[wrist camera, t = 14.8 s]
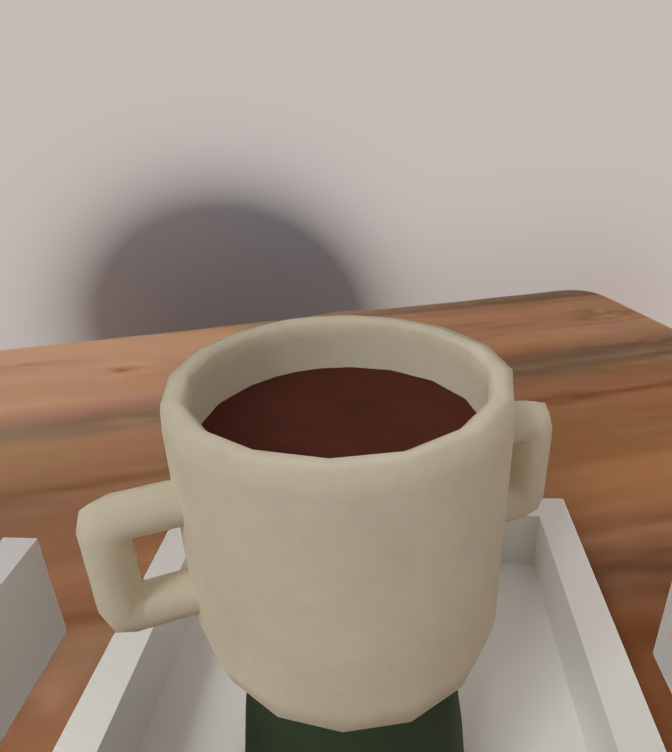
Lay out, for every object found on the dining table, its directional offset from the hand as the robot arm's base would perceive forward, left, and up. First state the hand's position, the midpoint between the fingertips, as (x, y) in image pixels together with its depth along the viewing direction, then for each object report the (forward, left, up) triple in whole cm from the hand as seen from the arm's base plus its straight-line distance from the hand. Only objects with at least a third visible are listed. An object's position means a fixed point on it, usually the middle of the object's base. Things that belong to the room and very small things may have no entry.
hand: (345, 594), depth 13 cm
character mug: (0, +2, -9) cm, 9 cm away
